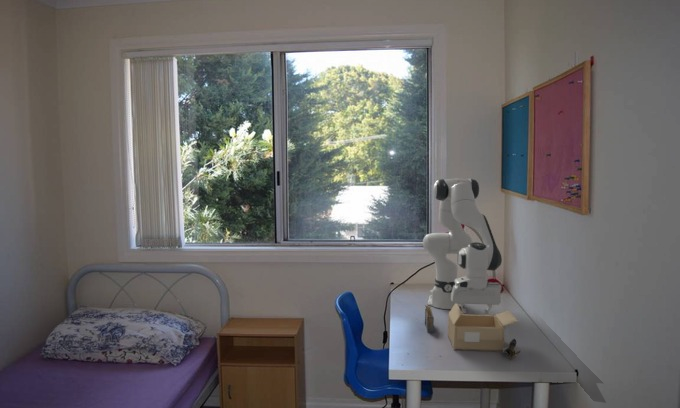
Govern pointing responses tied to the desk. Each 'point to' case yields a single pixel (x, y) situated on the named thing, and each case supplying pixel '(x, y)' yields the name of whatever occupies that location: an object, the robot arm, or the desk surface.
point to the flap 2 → (506, 318)
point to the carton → (476, 333)
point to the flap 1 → (455, 313)
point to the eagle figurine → (511, 349)
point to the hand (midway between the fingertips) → (475, 313)
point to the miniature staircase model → (429, 319)
